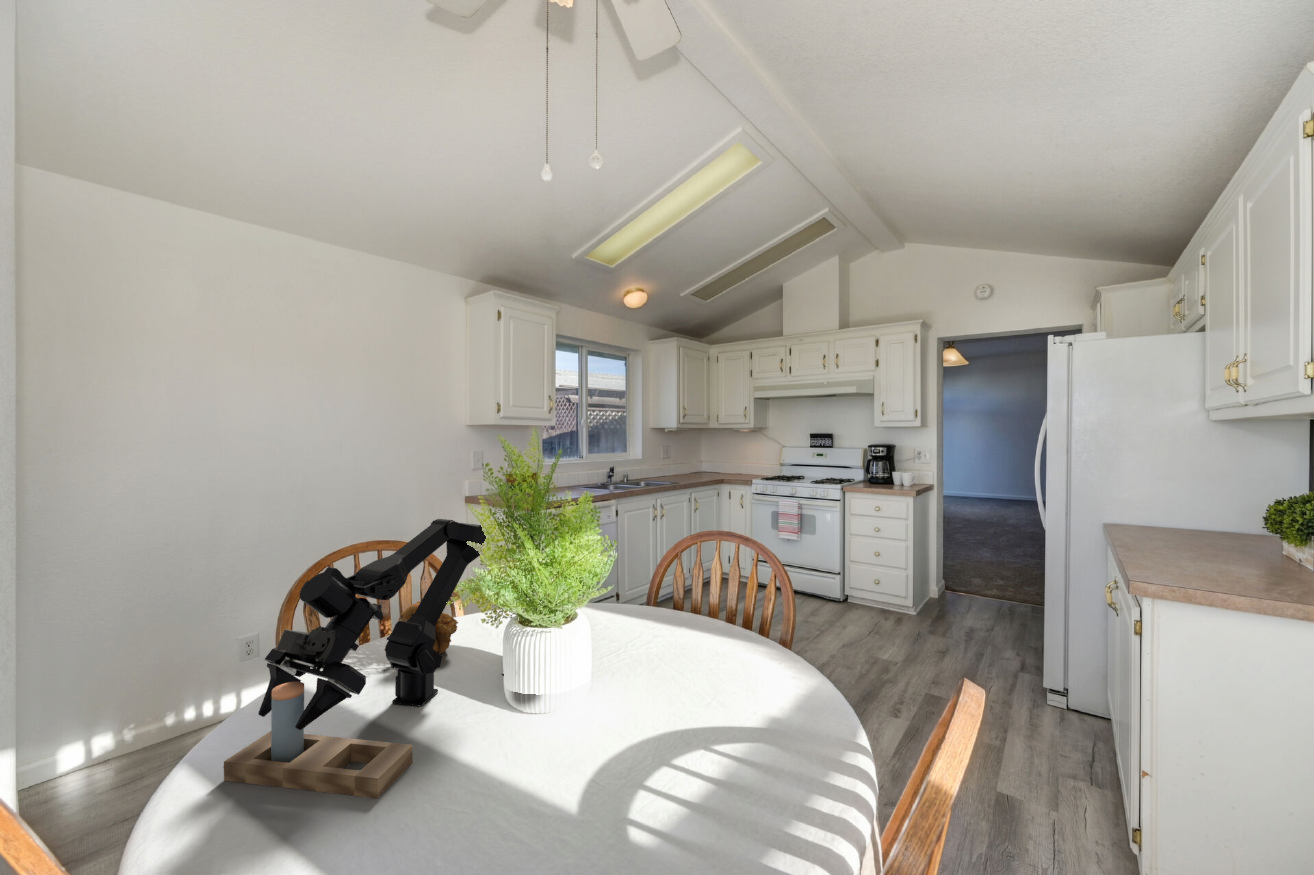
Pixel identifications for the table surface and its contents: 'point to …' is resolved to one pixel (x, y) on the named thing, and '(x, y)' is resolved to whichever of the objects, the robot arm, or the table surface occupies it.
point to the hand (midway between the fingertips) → (278, 722)
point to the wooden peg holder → (323, 765)
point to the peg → (287, 722)
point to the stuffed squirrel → (436, 627)
